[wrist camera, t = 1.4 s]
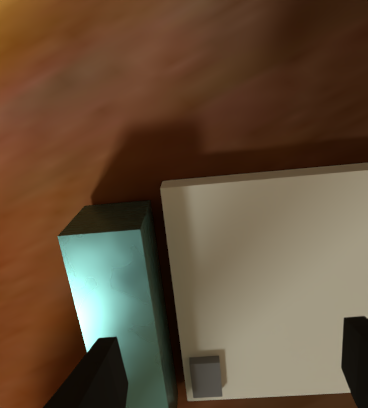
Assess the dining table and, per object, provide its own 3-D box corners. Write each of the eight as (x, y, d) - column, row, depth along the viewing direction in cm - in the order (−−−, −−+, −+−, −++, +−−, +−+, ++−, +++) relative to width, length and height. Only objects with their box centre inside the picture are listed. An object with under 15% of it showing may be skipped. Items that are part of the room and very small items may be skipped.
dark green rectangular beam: (177, 392, 25) (175, 457, 20) (125, 395, 25) (112, 460, 21) (150, 199, 19) (139, 232, 15) (85, 205, 20) (55, 239, 15)
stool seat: (404, 371, 24) (424, 396, 22) (187, 383, 25) (187, 409, 23) (441, 155, 18) (472, 164, 16) (162, 180, 19) (159, 191, 17)
